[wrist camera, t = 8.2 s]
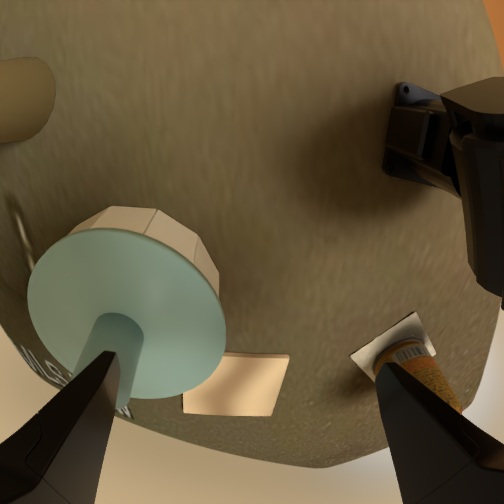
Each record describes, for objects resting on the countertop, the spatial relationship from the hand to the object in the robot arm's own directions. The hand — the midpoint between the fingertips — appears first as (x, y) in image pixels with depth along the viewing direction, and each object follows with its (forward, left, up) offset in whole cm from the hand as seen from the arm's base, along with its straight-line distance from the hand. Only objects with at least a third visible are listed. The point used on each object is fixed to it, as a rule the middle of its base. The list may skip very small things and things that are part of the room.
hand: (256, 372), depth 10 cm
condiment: (-17, +12, -13) cm, 24 cm away
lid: (+7, +6, -8) cm, 12 cm away
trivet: (-1, +16, -12) cm, 20 cm away
